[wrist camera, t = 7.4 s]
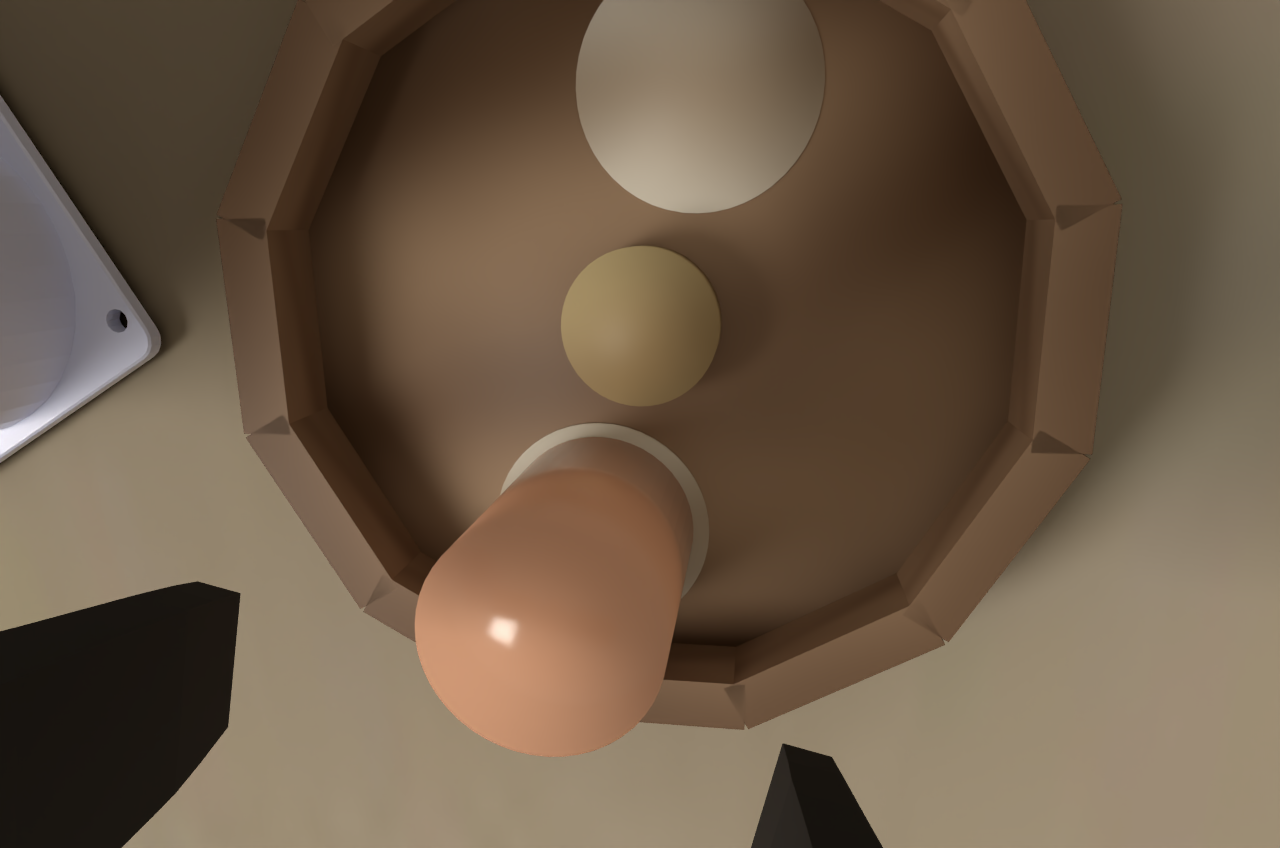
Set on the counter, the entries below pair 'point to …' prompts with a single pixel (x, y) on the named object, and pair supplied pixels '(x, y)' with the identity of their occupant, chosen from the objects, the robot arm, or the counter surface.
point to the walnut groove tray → (681, 301)
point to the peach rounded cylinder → (560, 601)
